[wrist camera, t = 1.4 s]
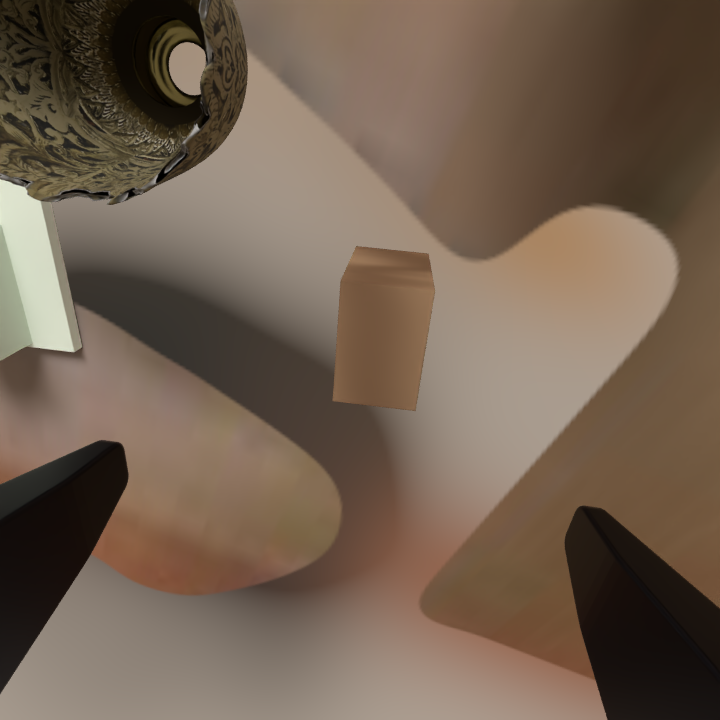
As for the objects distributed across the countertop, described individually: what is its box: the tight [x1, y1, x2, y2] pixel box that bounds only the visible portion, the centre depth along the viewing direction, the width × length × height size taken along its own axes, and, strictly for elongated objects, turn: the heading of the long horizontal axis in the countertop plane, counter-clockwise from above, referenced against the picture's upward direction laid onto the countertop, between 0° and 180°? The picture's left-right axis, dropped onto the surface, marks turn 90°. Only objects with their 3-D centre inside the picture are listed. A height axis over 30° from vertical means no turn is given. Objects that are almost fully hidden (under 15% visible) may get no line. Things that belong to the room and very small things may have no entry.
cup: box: [0, 0, 248, 205], centre depth 13 cm, size 8×7×8 cm
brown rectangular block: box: [333, 246, 435, 411], centre depth 18 cm, size 3×4×5 cm, turn 175°
